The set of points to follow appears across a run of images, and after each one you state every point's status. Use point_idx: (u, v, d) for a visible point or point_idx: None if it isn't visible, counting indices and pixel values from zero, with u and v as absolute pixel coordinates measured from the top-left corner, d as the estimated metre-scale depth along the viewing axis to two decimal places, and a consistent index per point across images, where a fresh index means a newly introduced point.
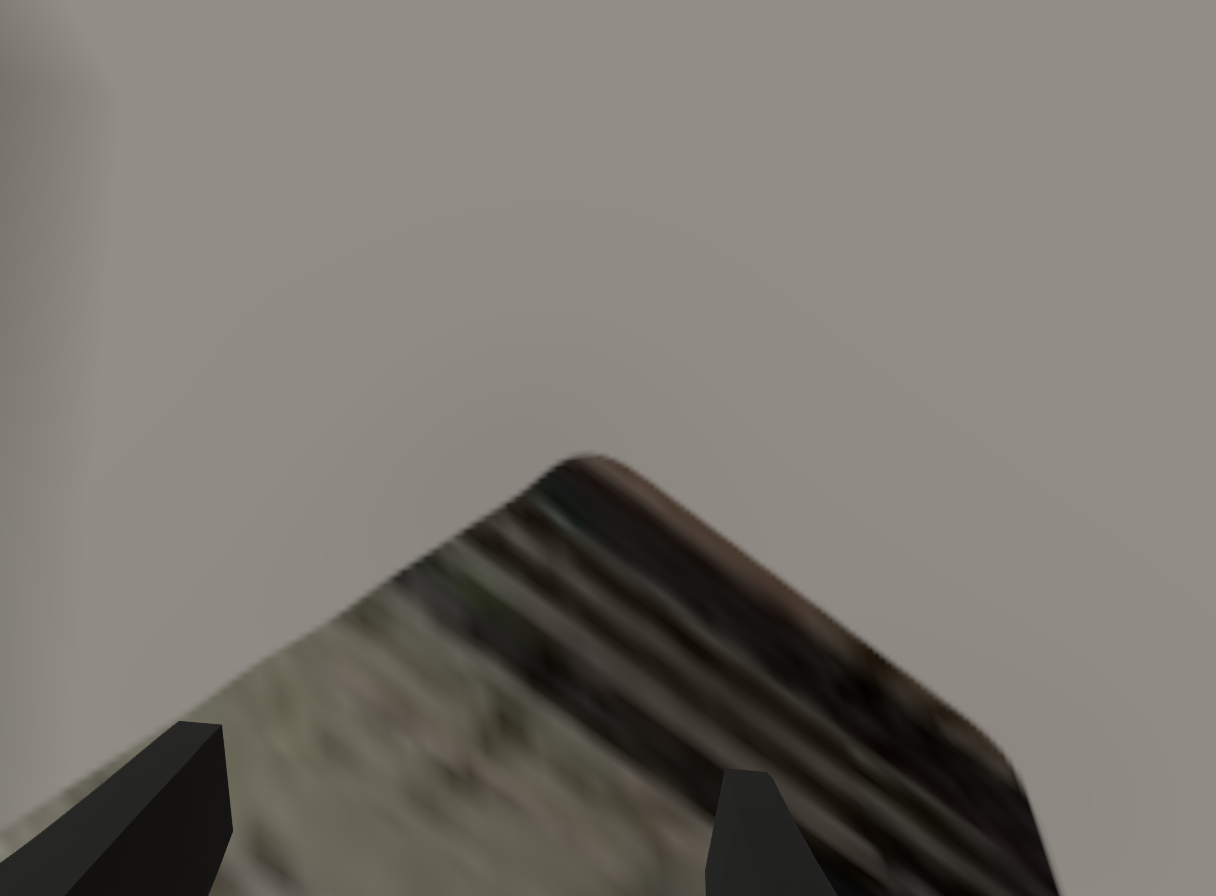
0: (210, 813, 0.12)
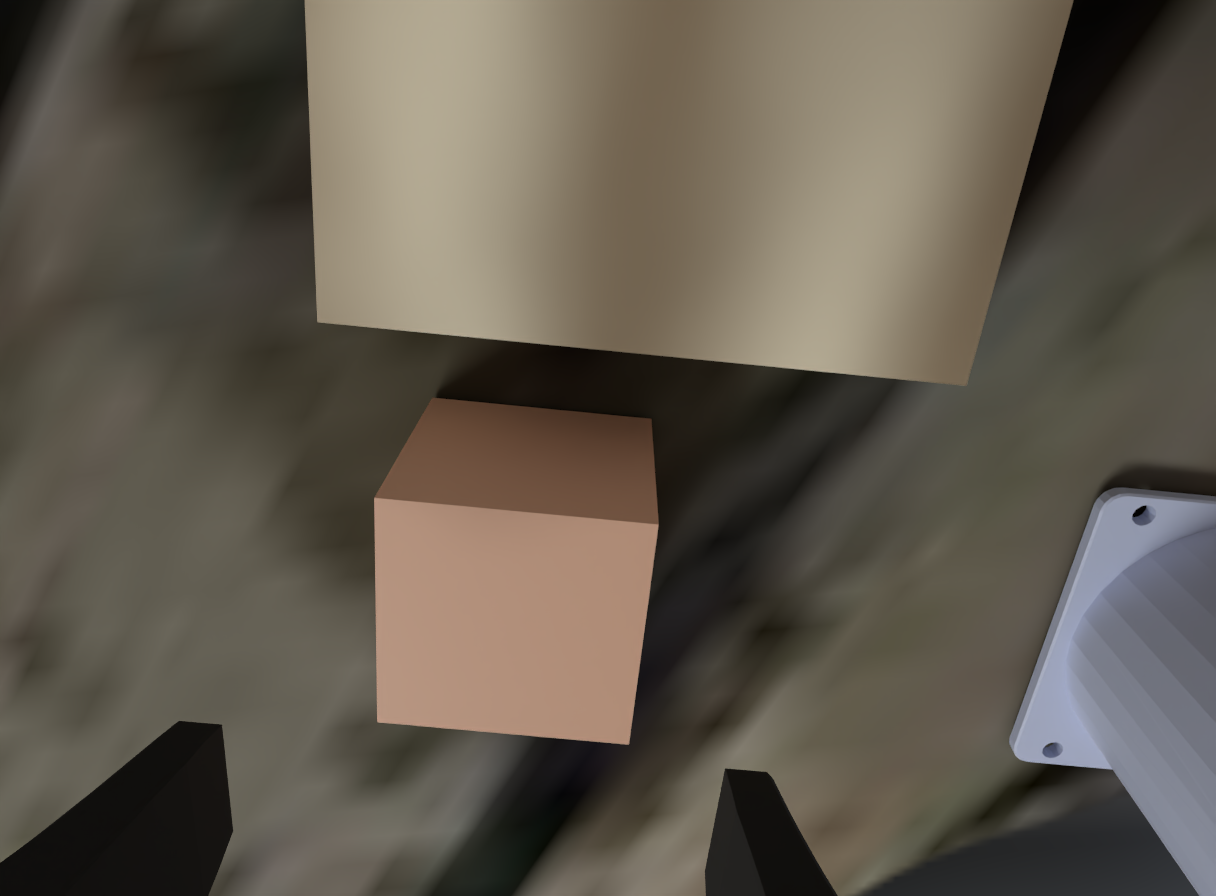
0: (210, 813, 0.12)
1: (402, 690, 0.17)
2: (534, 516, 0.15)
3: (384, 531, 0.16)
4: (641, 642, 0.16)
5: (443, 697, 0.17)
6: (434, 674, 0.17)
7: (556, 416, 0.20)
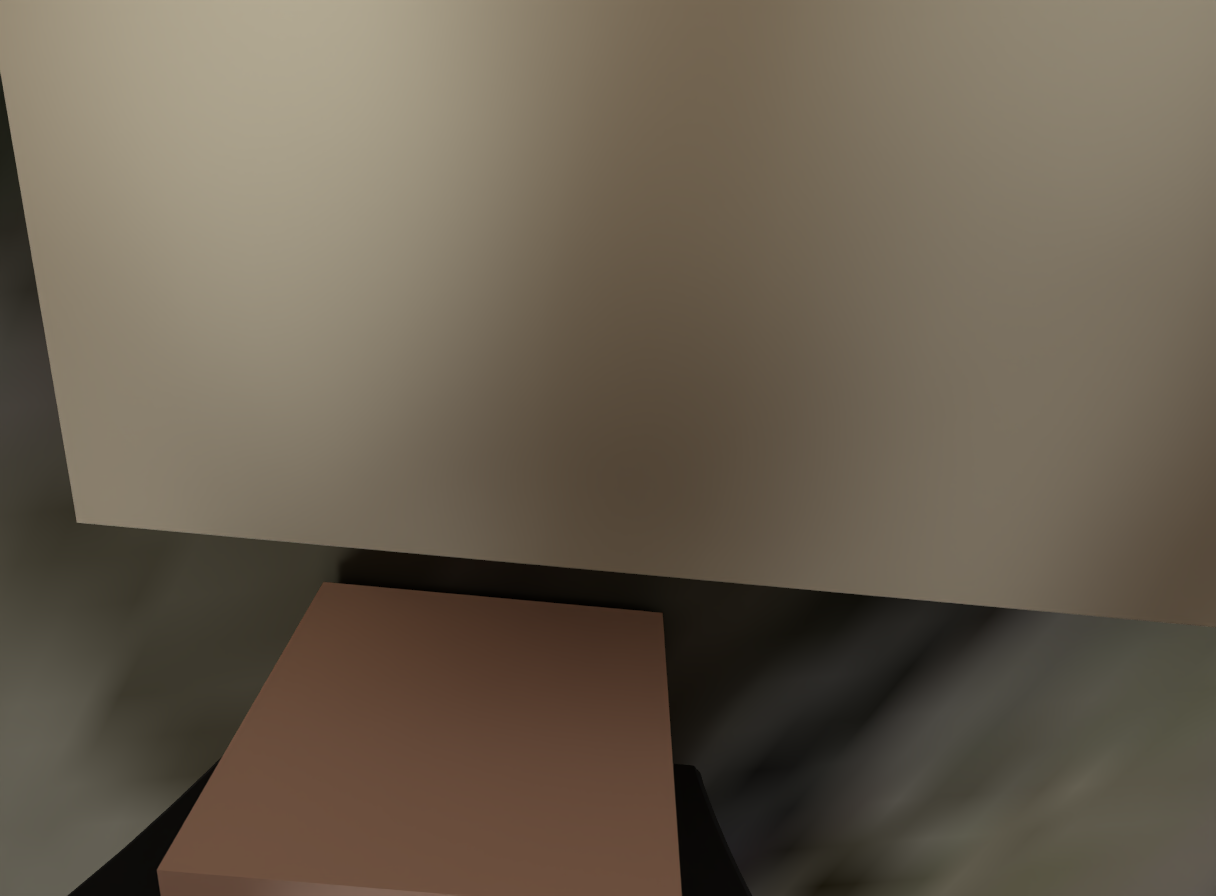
0: None
1: None
2: None
3: None
4: None
5: None
6: None
7: (514, 616, 0.13)
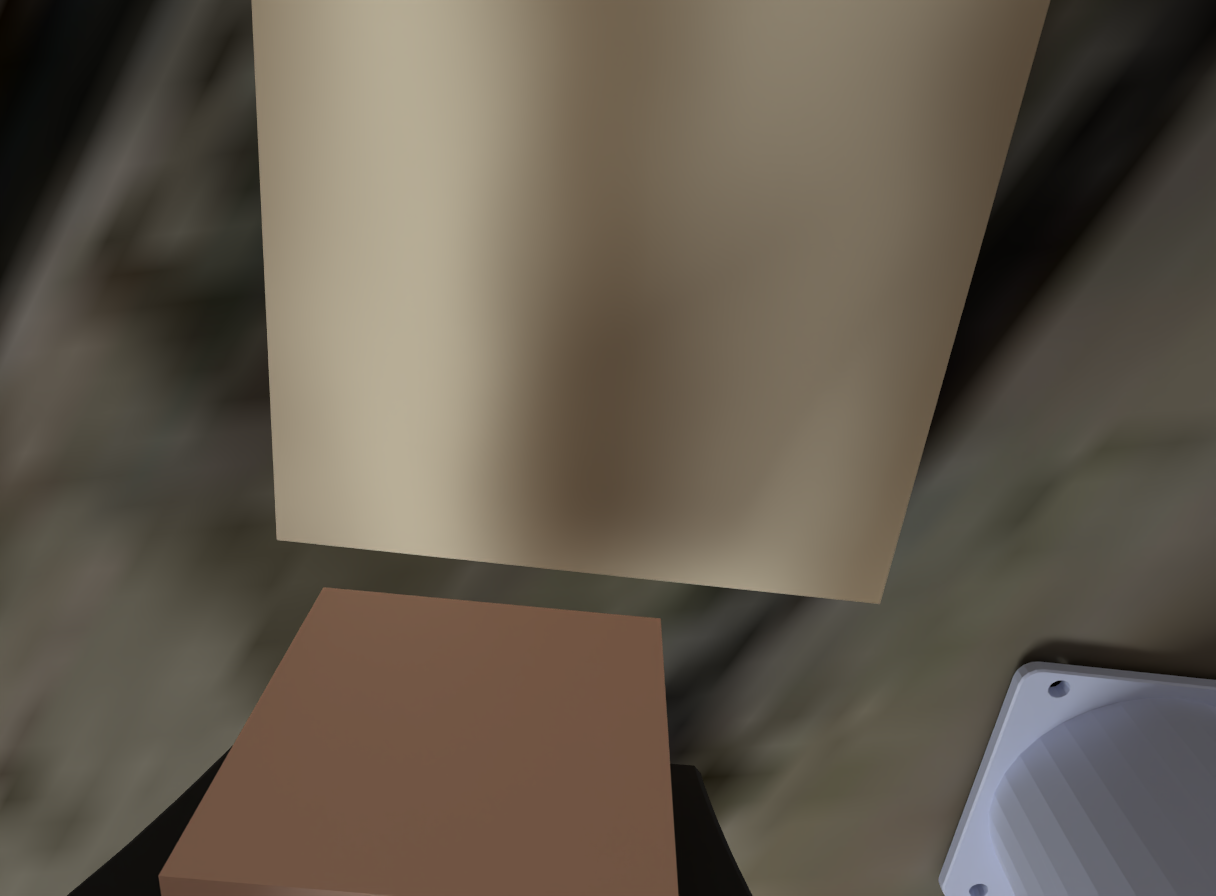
0: None
1: None
2: None
3: None
4: None
5: None
6: None
7: (513, 621, 0.13)
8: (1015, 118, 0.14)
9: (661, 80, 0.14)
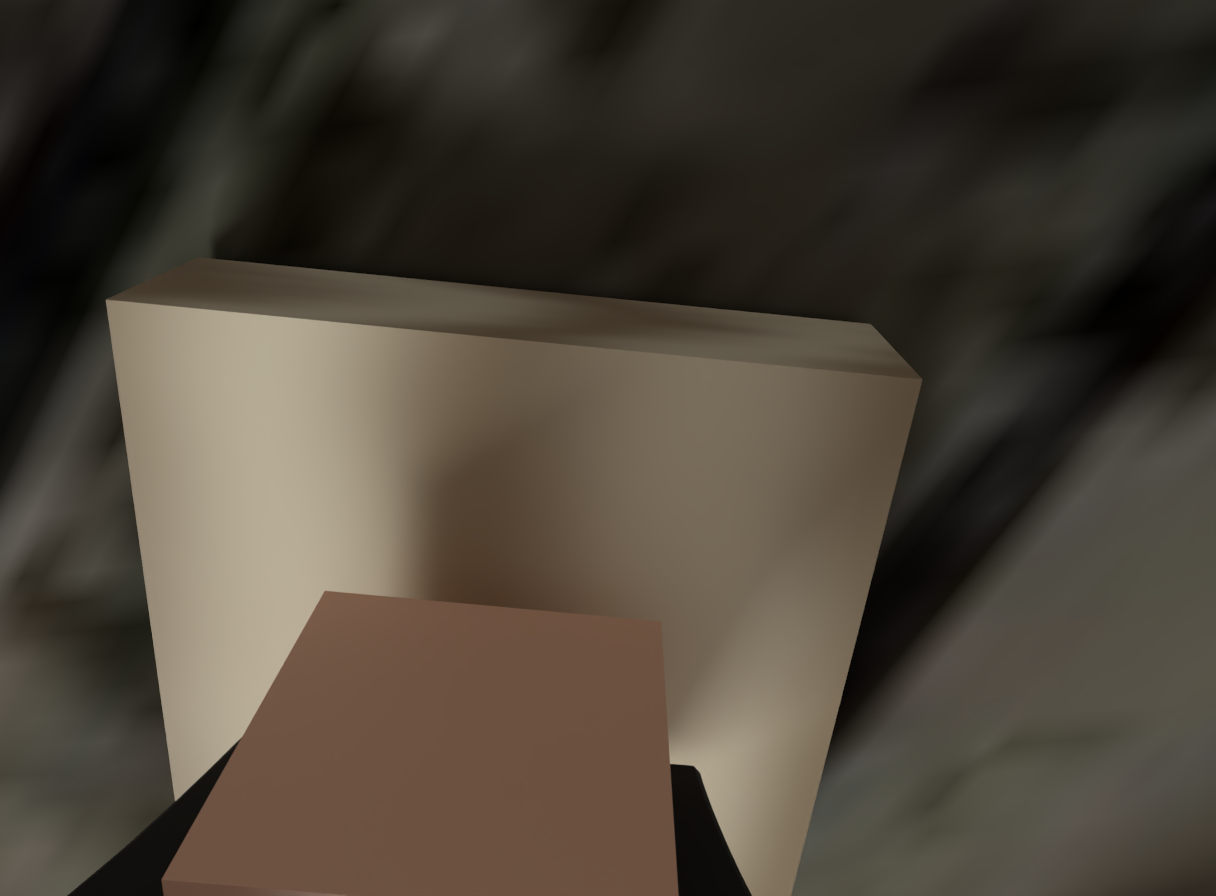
0: None
1: None
2: None
3: None
4: None
5: None
6: None
7: (514, 625, 0.13)
8: (878, 546, 0.14)
9: (530, 517, 0.14)
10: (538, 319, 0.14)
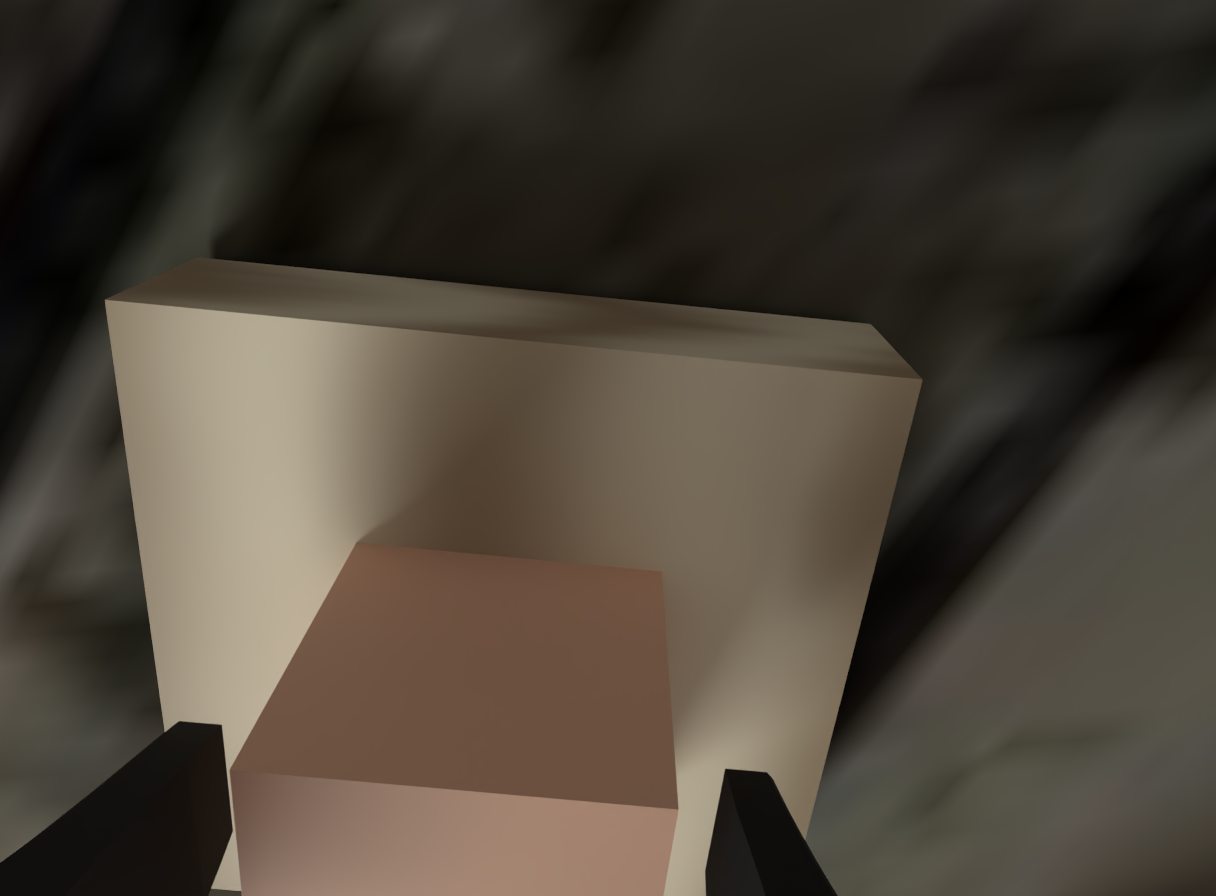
0: (210, 813, 0.12)
1: None
2: (483, 796, 0.10)
3: (248, 814, 0.10)
4: None
5: None
6: None
7: (528, 572, 0.14)
8: (878, 547, 0.14)
9: (530, 517, 0.14)
10: (537, 319, 0.14)
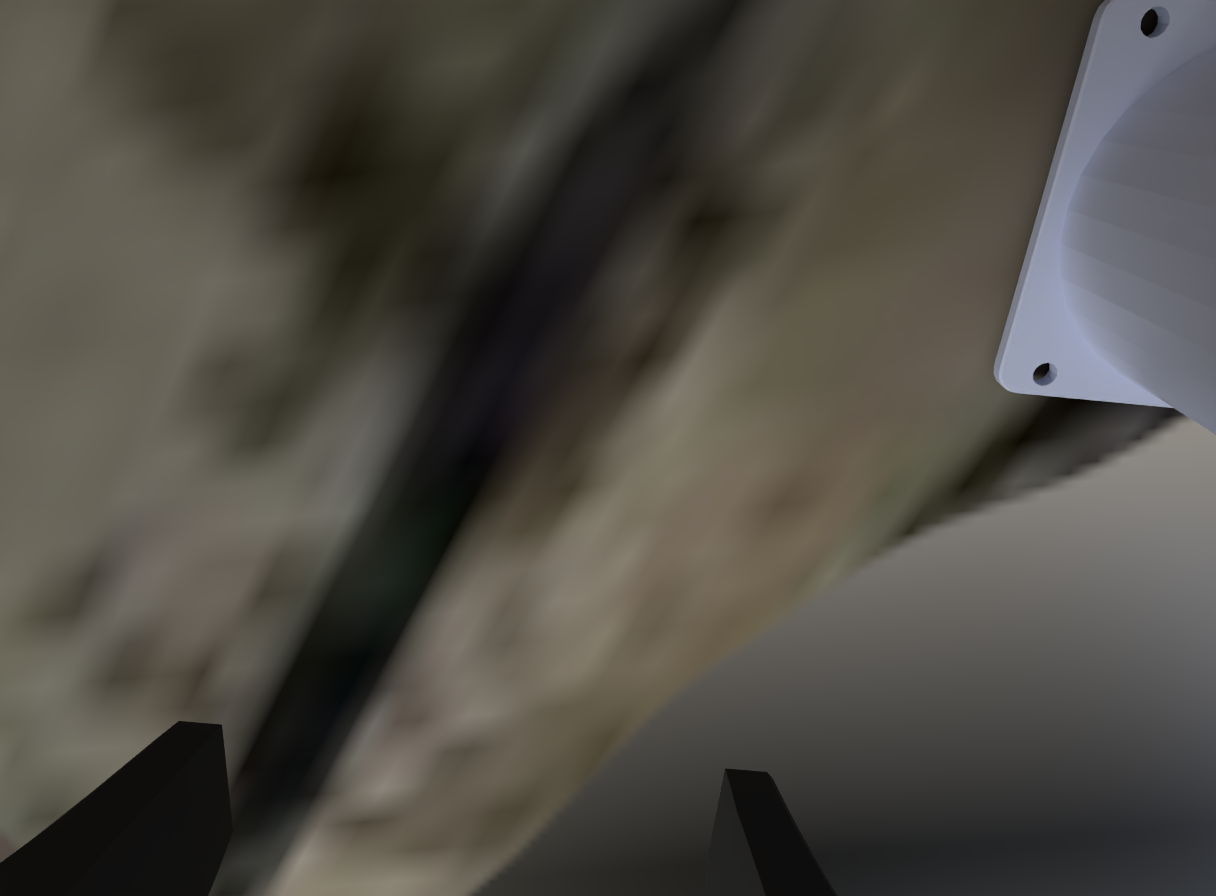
0: (210, 813, 0.12)
1: None
2: None
3: None
4: None
5: None
6: None
7: None
8: None
9: None
10: None
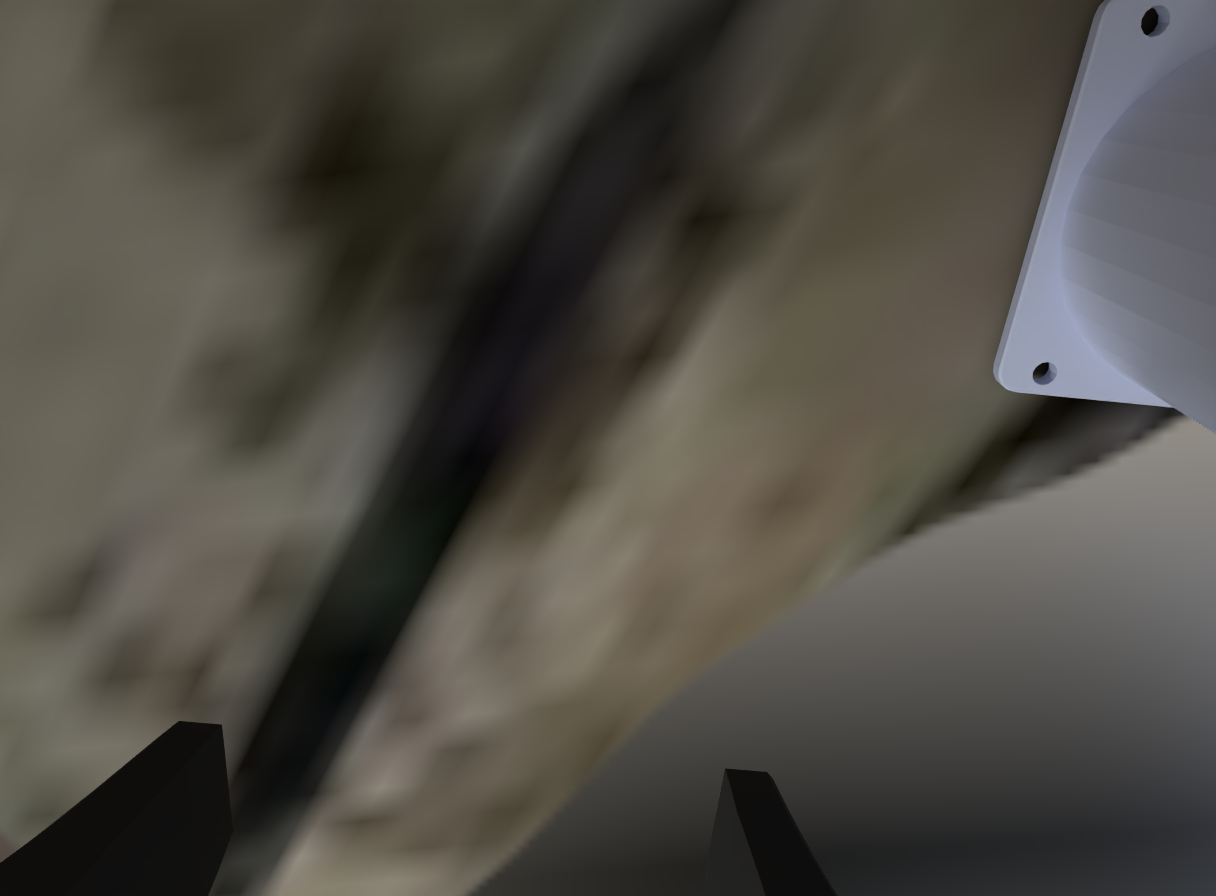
0: (210, 813, 0.12)
1: None
2: None
3: None
4: None
5: None
6: None
7: None
8: None
9: None
10: None
